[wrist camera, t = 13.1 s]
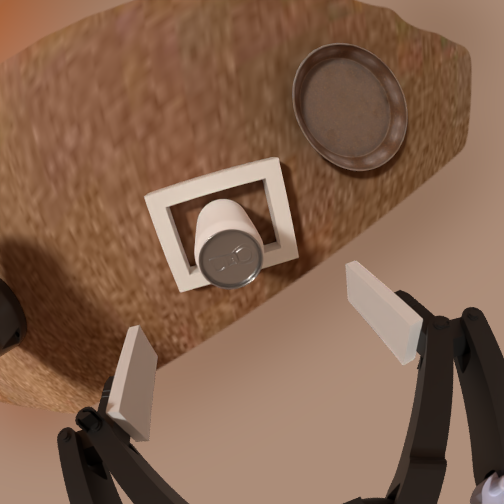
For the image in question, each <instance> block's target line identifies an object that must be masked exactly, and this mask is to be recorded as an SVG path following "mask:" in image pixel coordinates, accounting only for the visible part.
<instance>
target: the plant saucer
mask: <svg viewBox="0 0 504 504" xmlns="http://www.w3.org/2000/svg"><path fill="white" fill-rule="evenodd" d="M292 97H293V107H294V111H295V115H296V118H297V121H298V124H299V126H300V128H301V130H302V132H303V134H304V135H305V137H306V138H307V140H308V141H309V143H310V144H311V145H312V146H313V147H314V149H315V150H316V151H317V152H318V153H319V154H321V155H322V156H323V157H324V158H325V159H327V160H328V161H330V162H331V163H333V164H335V165H337V166H339V167H342V168H345V169H349V170H354V171H366V170H371V169H375V168H377V167H380V166H381V165H383V164H385V163H386V162H388V161H389V160H390V159H391V158H392V157H393V156H394V155H395V154H396V152H397V151H398V150H399V148H400V146H401V144H402V142H403V140H404V137H405V133H406V129H407V120H408V119H407V105H406V100H405V96H404V94H403V91H402V88H401V86H400V84H399V82H398V80H397V78H396V77H395V75H394V74H393V72H392V71H391V70H390V68H389V67H388V66H387V65H386V64H385V63H384V62H383V61H382V60H381V59H380V58H378V57H377V56H376V55H374V54H373V53H371V52H370V51H368V50H366V49H364V48H361V47H359V46H356V45H352V44H346V43H334V44H328V45H325V46H322V47H319V48H317V49H316V50H314V51H313V52H311V53H310V54H309V55H308V56H307V57H306V58H305V59H304V60H303V62H302V63H301V65H300V66H299V68H298V70H297V72H296V75H295V78H294V83H293V92H292Z"/></svg>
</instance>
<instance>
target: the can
mask: <svg viewBox="0 0 504 504" xmlns="http://www.w3.org/2000/svg"><path fill="white" fill-rule="evenodd" d="M194 254H195V261H196V264H197V266H198V268H199V270H200V272H201V273H202V275H203V276H204V277H205V279H206V280H207V281H208V282H209V283H211V284H212V285H214V286H216V287H219V288H222V289H237V288H241V287H244V286H246V285H247V284H249V283H251V282H252V281H253V280H254V279H255V278H256V277H257V276H258V274H259V272H260V271H261V268H262V265H263V258H264V246H263V242H262V239H261V237H260V235H259V233H258V231H257V230H256V228H255V226H254V225H253V223H252V221H251V220H250V218H249V217H248V215H247V213H246V212H245V210H244V209H243V208H242V207H241V206H240V205H239V204H238V203H236V202H234V201H232V200H228V199H218V200H214V201H212V202H210V203H208V204H207V205H206V206H205V207H204V208H203V209H202V210H201V212H200V214H199V216H198V220H197V227H196V237H195V250H194Z"/></svg>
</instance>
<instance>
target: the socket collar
mask: <svg viewBox="0 0 504 504" xmlns="http://www.w3.org/2000/svg"><path fill="white" fill-rule="evenodd" d="M261 179H262V181H263V185H264V189H265V193H266V197H267V202H268V206H269V210H270V215H271V219H272V223H273V228H274V232H275V237H276V241H277V242H273V243H270V244H266V245H263V246H264V258H263V265H262V268H261V269H263V268H266V267H270V266H273V265H276V264H280V263H283V262H286V261H289V260H293V259H296V258H299V255H298V250H297V244H296V239H295V234H294V229H293V224H292V219H291V214H290V209H289V204H288V199H287V195H286V190H285V185H284V181H283V176H282V172H281V167H280V163H279V158H276V157H271V158H267V159H263V160H258V161H254V162H250V163H247V164H243V165H239V166H235V167H231V168H228V169H224V170H220V171H217V172H213V173H210V174H206V175H203V176H200V177H196V178H193V179H190V180H187V181H184V182H180V183H177V184H174V185H171V186H168V187H165V188H162V189H159V190H156V191H153V192H151V193H148V194H147V195H146V196H145V197H144V198H145V201H146V204H147V207H148V209H149V212H150V215H151V218H152V221H153V224H154V227H155V229H156V232H157V235H158V238H159V240H160V243H161V246H162V248H163V251H164V254H165V256H166V259H167V261H168V264H169V266H170V269H171V271H172V274H173V276H174V279H175V281H176V283H177V286H178V288H179V291H180V292H184V291H188V290H191V289H195V288H198V287H202V286H205V285H209V284H211V283H209V282H208V281H207V280H206V279H205V277H204V276H203V275H202V273H201V272H200V270H199V268H198V266H197V265H195V266H191V267H190V265H189V262H188V259H187V257H186V254H185V251H184V248H183V245H182V243H181V240H180V237H179V234H178V231H177V228H176V225H175V222H174V219H173V216H172V213H171V210H170V207H169V206H172V205H175V204H178V203H181V202H184V201H187V200H190V199H194V198H197V197H200V196H204V195H207V194H210V193H214V192H217V191H221V190H224V189H228V188H231V187H235V186H238V185H242V184H246V183H250V182H253V181H257V180H261Z"/></svg>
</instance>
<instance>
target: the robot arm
mask: <svg viewBox="0 0 504 504" xmlns="http://www.w3.org/2000/svg"><path fill="white" fill-rule="evenodd" d="M346 277H347V291H348V300H349V302H350V303H351V304H352V305H353V306H354V307H355V309H356V310H357V311H358V312H359V313H360V314H361V315H362V317H363V318H364V319H365V320H366V321H367V323H368V324H369V325H370V326H371V327H372V329H373V330H374V331H375V332H376V333H377V334H378V336H379V337H380V338H381V339H382V341H383V342H384V343H385V344H386V345H387V346H388V348H389V349H390V350H391V351H392V352H393V354H394V355H395V356H396V357H397V359H398V360H399V361H400V362H401V364H402V365H405V364H407V363H408V362H410V361H412V360H414V359H415V356H416V351H417V352H418V353H419V354H420V355H421V356H420V360H419V364H418V368H417V369H419V370H418V378H417V385H416V391H415V398H414V403H413V408H412V414H411V418H410V423H409V427H408V431H407V436H406V439H405V443H404V447H403V451H402V454H401V458H400V461H399V464H398V468H397V471H396V474H395V476H394V479H393V481H392V483H391V485H390V487H389V490H388V492H387V495H386V497H385V498H366V499H361V497H358V498H356V499H353V500H351V501H348V502H346V503H343V504H437V501H438V498H439V495H440V492H441V488H442V484H443V480H444V476H445V472H446V467H447V461H446V459H445V451H446V446H447V440H448V433H449V426H450V417H451V406H452V394H453V359H454V362H455V366H456V369H457V373H458V377H459V381H460V385H461V389H462V394H463V399H464V403H465V409H466V414H467V420H468V426H469V433H470V440H471V449H472V461H473V472H474V478H475V483H476V488H475V489H474V491H473V493H472V496H471V499H470V503H471V504H504V358H503V355H502V353H501V350H500V348H499V346H498V344H497V341H496V339H495V337H494V335H493V333H492V330H491V328H490V326H489V324H488V322H487V320H486V318H485V316H484V314H483V313H482V311H481V310H479V309H478V308H474V307H469V308H466V309H465V310H464V311H463V313H462V317H460V318H456V319H452V320H449V319H448V318H446V317H444V316H434V315H433V314H432V313H431V312H429V311H428V310H427V309H426V308H425V307H424V306H422V305H421V304H420V303H418V301H417V300H416V299H414V298H413V297H412V296H411V295H410V294H408V293H406V292H404V291H401V290H399V291H397V292H393V291H391V290H390V289H389V288H388V287H387V286H386V285H384V284H383V283H382V282H381V281H380V280H379V279H377V278H376V277H375V276H374V275H373V274H372V273H370V272H369V271H368V270H367V269H366V268H364V267H363V266H362V265H361V264H359V263H358V262H357V261H353V262H350V263H347V264H346ZM26 329H27V327H26V320H25V316H24V313H23V310H22V308H21V306H20V304H19V302H18V300H17V298H16V297H15V295H14V294H13V292H12V291H11V290H10V288H9V287H8V286H7V285H6V284H5V283H4V282H3V281H2V280H1V279H0V356H2V355H4V354H5V353H7V352H8V351H10V350H12V349H13V348H15V347H17V346H18V345H19V344H20V343H21V341H22V340H23V338H24V337H25V335H26ZM157 359H158V356H157V354H156V353H155V351H154V349H153V348H152V346H151V344H150V343H149V341H148V339H147V338H146V336H145V334H144V332H143V331H142V329H141V327H140V325H138V326H134V327H129V329H128V332H127V335H126V339H125V342H124V345H123V348H122V352H121V355H120V358H119V362H118V365H117V369H116V373H115V376H110V377H109V378H108V380H107V381H106V383H105V385H104V389H103V392H102V396H101V397H102V398H101V400H100V403H99V407H98V411H97V412H96V410H94V409H93V408H92V407H85V408H83V409H81V410H80V411H79V412H78V414H77V416H76V420H75V421H76V424H77V425H78V426H79V427H80V428H81V429H82V430H81V431H77V432H75V431H74V430H73V429H72V428H69V427H67V428H64V429H62V430H61V431H60V433H59V434H58V437H57V443H58V450H59V455H60V462H61V467H62V471H63V477H64V481H65V485H66V490H67V493H68V497H69V501H70V504H122V501H121V499H120V497H119V494H118V492H117V490H116V487H115V485H114V482H113V479H112V477H111V474H112V475H113V477H114V478H115V479H116V481H117V482H118V484H119V485H120V486H121V488H122V489H123V490H124V492H125V493H126V494H127V496H128V497H129V498H130V499H131V501H132V502H133V503H134V504H189V503H188V502H186V501H185V500H184V499H183V498H182V497H181V496H180V495H179V494H178V493H177V492H175V490H174V489H172V488H171V487H170V486H169V485H168V484H167V483H166V482H165V481H164V480H163V479H162V477H160V475H159V474H158V473H157V472H156V471H155V470H154V469H153V468H152V467H151V466H150V465H149V464H148V462H147V461H146V460H145V459H144V458H143V457H142V455H141V454H140V453H139V452H138V451H137V450H136V448H135V447H134V446H133V445H132V444H131V443H130V437H132V438H133V439H134V440H135V441H136V442H139V441H149V433H150V421H151V410H152V400H153V390H154V382H155V374H156V366H157ZM110 472H111V474H110Z"/></svg>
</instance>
